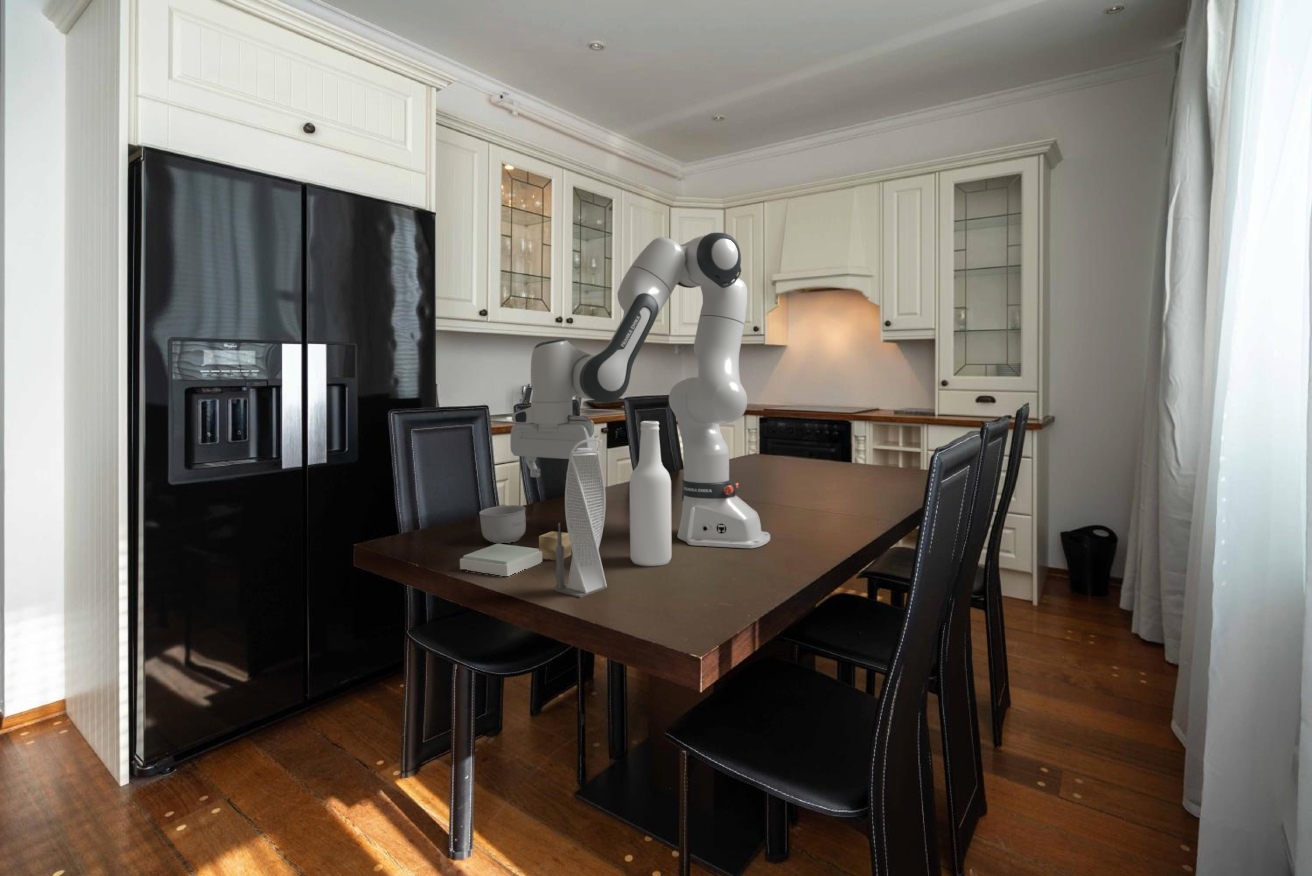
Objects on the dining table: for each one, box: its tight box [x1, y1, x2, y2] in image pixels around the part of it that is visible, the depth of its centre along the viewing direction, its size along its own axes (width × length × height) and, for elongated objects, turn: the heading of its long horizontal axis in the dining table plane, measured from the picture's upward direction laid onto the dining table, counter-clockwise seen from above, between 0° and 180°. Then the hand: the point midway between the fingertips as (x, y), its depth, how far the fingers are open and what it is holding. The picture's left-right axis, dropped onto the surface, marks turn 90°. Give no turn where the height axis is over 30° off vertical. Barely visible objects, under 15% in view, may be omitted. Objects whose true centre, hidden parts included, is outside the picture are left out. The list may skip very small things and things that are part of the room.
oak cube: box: [538, 530, 572, 561], centre depth 151 cm, size 5×5×5 cm
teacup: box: [478, 504, 527, 544], centre depth 166 cm, size 14×11×8 cm
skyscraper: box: [553, 438, 608, 599], centre depth 127 cm, size 8×8×28 cm
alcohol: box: [629, 420, 673, 567], centre depth 145 cm, size 9×9×30 cm
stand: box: [459, 544, 543, 577], centre depth 143 cm, size 12×12×3 cm
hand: (553, 478), depth 149 cm, fingers open, 8 cm apart
